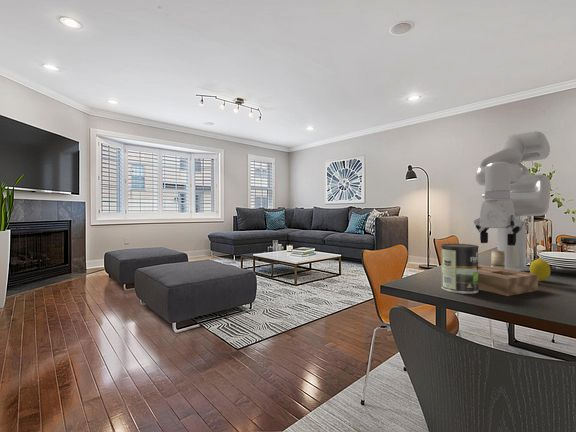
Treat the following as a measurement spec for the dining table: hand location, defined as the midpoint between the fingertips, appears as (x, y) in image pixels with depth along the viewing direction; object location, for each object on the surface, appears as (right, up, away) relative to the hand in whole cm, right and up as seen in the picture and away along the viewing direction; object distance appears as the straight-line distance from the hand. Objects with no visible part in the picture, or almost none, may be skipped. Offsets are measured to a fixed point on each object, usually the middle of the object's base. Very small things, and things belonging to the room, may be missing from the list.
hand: (497, 244), depth 109 cm
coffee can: (-21, -13, -14) cm, 29 cm away
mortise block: (-9, -13, -9) cm, 18 cm away
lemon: (+12, -13, -5) cm, 18 cm away
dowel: (+1, -13, +1) cm, 13 cm away
